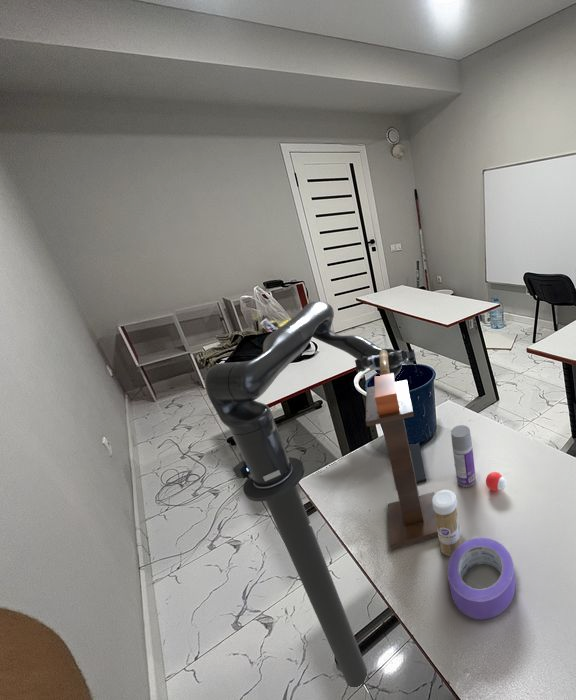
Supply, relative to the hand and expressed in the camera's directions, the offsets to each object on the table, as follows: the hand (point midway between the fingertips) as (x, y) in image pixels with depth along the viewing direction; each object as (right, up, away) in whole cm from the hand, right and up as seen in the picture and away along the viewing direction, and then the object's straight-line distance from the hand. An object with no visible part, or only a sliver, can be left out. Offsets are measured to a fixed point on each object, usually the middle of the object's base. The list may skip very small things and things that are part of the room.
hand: (384, 357), depth 81 cm
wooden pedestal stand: (+7, -36, -2) cm, 37 cm away
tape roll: (+22, -41, -16) cm, 49 cm away
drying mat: (+3, -29, +15) cm, 33 cm away
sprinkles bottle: (+16, -38, -9) cm, 42 cm away
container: (+19, -31, +7) cm, 37 cm away
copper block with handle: (+3, -5, -10) cm, 11 cm away
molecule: (+26, -32, +4) cm, 41 cm away
